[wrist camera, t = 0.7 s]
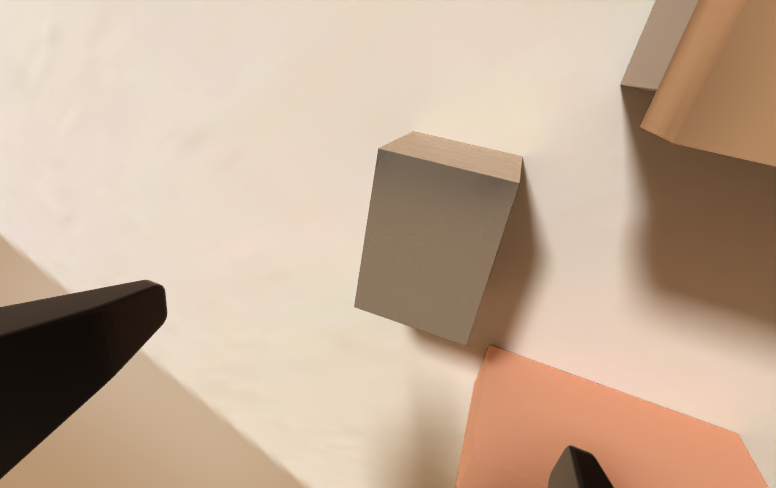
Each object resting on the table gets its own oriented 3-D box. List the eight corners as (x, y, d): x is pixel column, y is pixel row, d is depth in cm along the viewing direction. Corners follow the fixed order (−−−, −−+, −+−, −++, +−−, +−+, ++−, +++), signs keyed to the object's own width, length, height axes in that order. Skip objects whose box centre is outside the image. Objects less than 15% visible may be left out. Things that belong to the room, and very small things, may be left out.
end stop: (738, 434, 18) (839, 610, 12) (704, 472, 20) (779, 648, 14) (489, 345, 21) (472, 455, 15) (474, 384, 22) (453, 499, 16)
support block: (522, 155, 17) (519, 183, 13) (479, 288, 20) (466, 345, 16) (414, 131, 18) (378, 148, 14) (389, 260, 21) (354, 306, 17)
